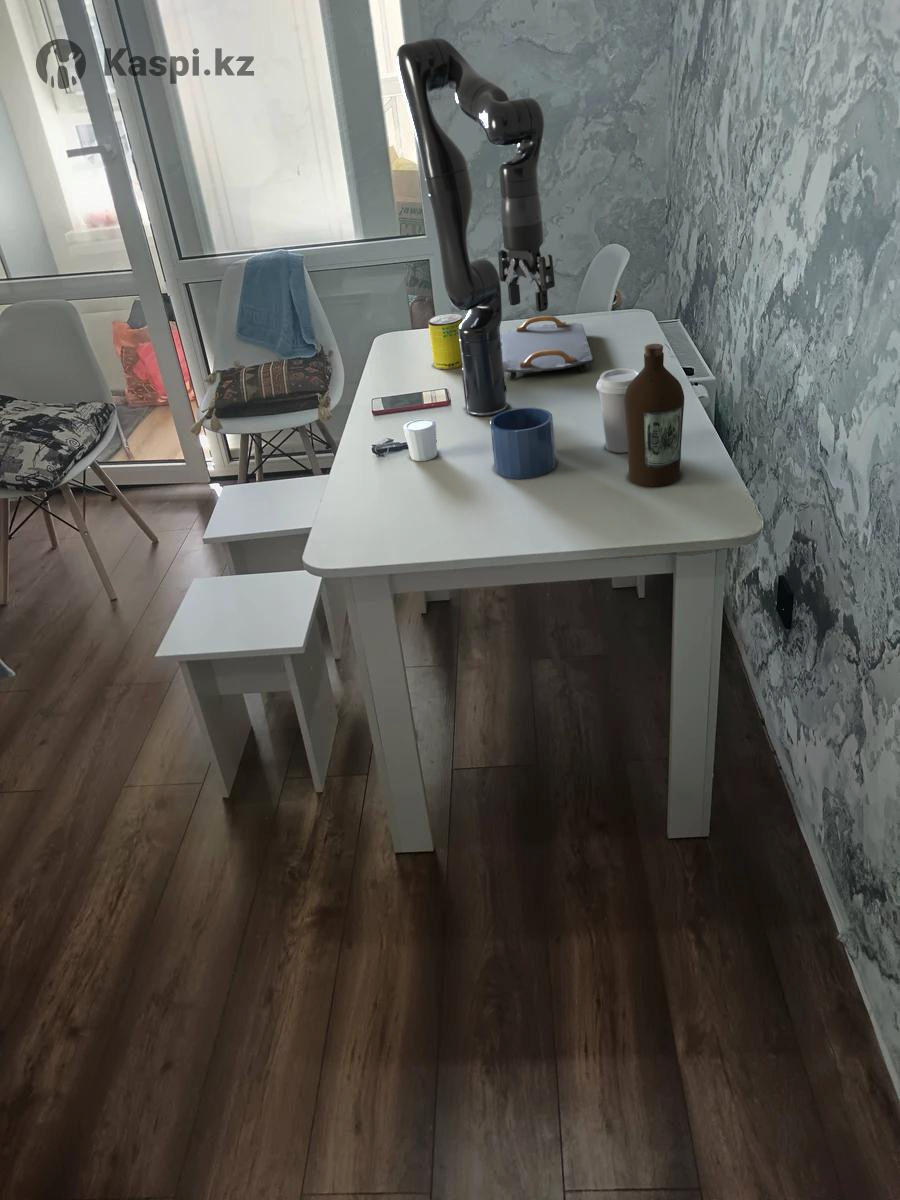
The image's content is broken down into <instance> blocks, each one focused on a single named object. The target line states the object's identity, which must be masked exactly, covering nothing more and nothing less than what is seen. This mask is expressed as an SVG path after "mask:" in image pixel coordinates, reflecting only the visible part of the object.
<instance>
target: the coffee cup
mask: <svg viewBox="0 0 900 1200" xmlns="http://www.w3.org/2000/svg"><path fill="white" fill-rule="evenodd" d="M640 372H641V370H638V369H634V368H627V367H626V368H623V367H622V368H621V367H620V368H613V369H610V370H605V371H604V372H602V373H601V374H600V375H599V379H598V380H597V383H596V386H595V388H596V390H597V391H598V393H599V402H600V408H601V417H602V424H603V433H604V440H605V441H604V442H605V448H606V450H607V451H609V452H612V453H618V454H620V453H622V454H623V453H628V446H627V432H626V419H625V407H624V398H625V393H626V390H627V387H628V386H629V384H630V383H631V382H632V380H633V379H634V378H635V377H636V376H637V375H638V374H639V373H640Z"/></svg>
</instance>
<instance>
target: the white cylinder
mask: <svg viewBox="0 0 900 1200" xmlns="http://www.w3.org/2000/svg"><path fill="white" fill-rule="evenodd" d="M403 432H404V436H405V440H406V445H407V448H408V451H409V455H410V459H411V460H413V461H415V462H426V461H429V460H432V459H435V457H437V455H438V446H437V445H438V444H437V423H436V422H435V420H433V419H429V418H421V419H415V420H411V421H409V422H406V423H405V424H404V425H403Z"/></svg>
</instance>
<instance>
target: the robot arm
mask: <svg viewBox="0 0 900 1200" xmlns="http://www.w3.org/2000/svg"><path fill="white" fill-rule="evenodd" d="M396 71H397V75H398V80H399V83H400V88H401V91H402V94H403V97H404V101H405V104H406V107H407V112H408V114H409V117H410V121H411V124H412V127H413V131H414V135H415V139H416V142H417V143H416V144H417V147H418V152H419V156H420V161H421V166H422V171H423V177H424V181H425V185H426V191H427V195H428V199H429V203H430V206H431V211H432V215H433V219H434V224H435V230H436V234H437V239H438V246H439V252H440V253H439V254H440V261H441V269H442V278H443V283H444V288H445V292H446V295H447V297H448V300H449V301H450V303H451V305H452V306H453V307H454V308H455V309H456V310H458V311H459V312H465V311H468V312H467V314H466V316H465V317H464V319H462V323H461V324H460V325H459V329H458V331H459V340H460V348H461V356H462V364H463V366H462V369H461V377H462V378H461V379H462V387H463V394H464V404H465V408H466V409H467V411H466V412H467V413H468V414H470V415H473V416H477V417H488V416H495V415H497V414H499V413H501V412H504V411H506V410H507V408H508V402H507V393H508V389H507V385H506V382H505V381H506V380H505V372H504V369H503V358H502V346H501V324H502V320H503V305H502V303H503V302H502V286H501V285H502V284H501V283H503V282H504V283H505V286H506V287H507V293H508V295H507V296H508V301H509V306H512V307H513V306H517V305H520V304H521V290H520V284H519V282H520V279H521V277H523V278H526V279H527V281H528V282H529V283H530V284H532V287H533V288H534V290H535V293H534V294H535V308H536V311H537V312H539V313H542V312H544V311H547V310H548V307H549V298H548V290H549V289H553V288H555V286H556V282H555V281H556V280H555V273H554V272H555V271H554V262H553V256H552V254H546V255H542V253H541V249H540V248H541V246H543V244H544V229H543V214H542V202H541V197H540V189H539V175H538V172H539V171H538V168H539V167H538V166H539V161H540V155H541V148H542V142H543V137H544V132H545V131H544V130H545V113H544V111H543V108H542V106H541V104H540V103H539V102H538V101H537V100H536V99H535V98H534V97H529V96H528V97H527V96H526V97H522V98H517V99H511V100H510V97H509V96H508V94H507V93H506V91H505V90H504V89H503V88H502V87H500V86H498V85H497V84H496V83H494V82H493V81H490V80H489V79H487V78H486V77H485V76H483V75H481V73H480V72H478V71H477V70H476V69H475V68H474V67H473V66H472V65H471V63H470V62H469V61H468V60H467V59H466V58H465V57H464V56H463V55H462V54H461V53H460V52H459V50H458V49H457V48H456V47H455V46H454V45H453V44H452V43H451V42H449V41H448V40H447V39H446V38H443V37H439V36H438V37H430V38H426V39H421V40H416V41H411V42H406V43H404V44H401V45H400V46H399V48H398V49H397V52H396ZM446 89H452V90H454V97H455V101H456V103H457V106H458V107H459V109H460V111H461V112H462V113H463V114H464V115H465V116H467V117H468V118H469V119H471V120H472V121H473V122H475V123H476V124H478V125H479V127H480V129H481V130H482V132H483V134H484V135H485V136H486V139H487V140H488V141H489V143H490V144H492V145H494V146H497V147H501V148H503V147H509V146H514V145H517V147H516V150H515V154H514V155H513V156H512V157H510V158H508V159H506V160H504V161H503V162H502V163H501V164H500V165H499V170H498V174H499V175H498V177H499V188H500V215H501V216H500V217H501V228H502V229H501V230H502V240H503V241H502V242H503V247H504V248H503V249H501V250H498V252H497V255H498V256H497V257H498V269H497V267H496V266H495V265H494V264H493V263H492V261H490V260H489V259H486V258H477V259H474V260H470V256H469V251H468V243H467V241H468V239H467V238H468V237H467V235H468V227H469V222H470V218H471V213H472V206H473V200H474V191H473V190H474V189H473V185H472V179H471V175H470V170H469V165H468V161H467V159H466V156H465V155H464V153H463V152H462V150H461V149H460V147H458V145H457V144H456V143H455V141H454V140H453V139H452V138H451V137H450V136H449V135H448V134H447V133H446V131H445V130H444V129H443V128H442V125H440V123H439V122H438V120H437V119H436V115H435V114H434V111H433V108H432V106H431V103H430V100H429V96H428V95H429V94H433V93H437V92H441V91H444V90H446ZM505 270H506V271H505ZM505 272H506V273H505ZM547 279H548V280H547ZM539 282H540V283H539Z"/></svg>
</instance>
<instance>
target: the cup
mask: <svg viewBox="0 0 900 1200" xmlns="http://www.w3.org/2000/svg"><path fill="white" fill-rule="evenodd" d="M553 419H554V418H553V414H552V413H551V412H550V411H549V410H547V409H544V408H540V407H516V408H512V409H511V408H510V409H506V410H504V411H502V412H500V413H497V414H494V415H493V416H492V418H491V419H490V420H489V425H490V433H491V434H490V435H491V444H492V454H493V455H492V456H493V464H494V470H495V472H496V474H498V475H499V476H501V477H504V478H507V479H514V480H522V479H523V480H524V479H532V478H536V477H540V476H543V475H546V474H547V473H549V472H551V471H552V470H553V469H554V468H555V466H556V449H555V448H556V447H555V433H554V432H555V431H554V420H553Z"/></svg>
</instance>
